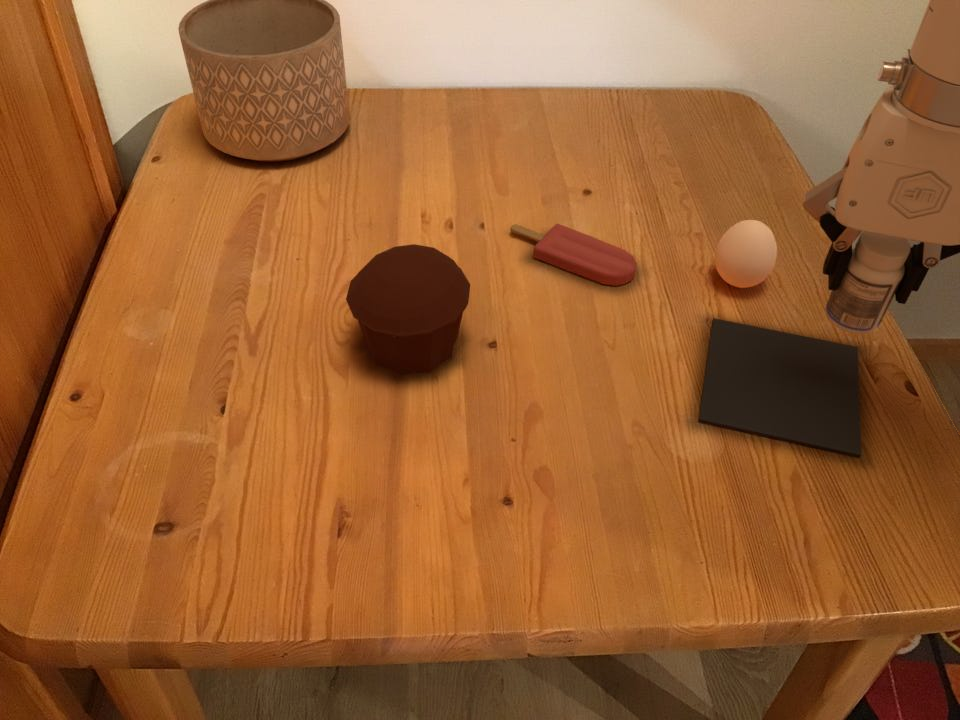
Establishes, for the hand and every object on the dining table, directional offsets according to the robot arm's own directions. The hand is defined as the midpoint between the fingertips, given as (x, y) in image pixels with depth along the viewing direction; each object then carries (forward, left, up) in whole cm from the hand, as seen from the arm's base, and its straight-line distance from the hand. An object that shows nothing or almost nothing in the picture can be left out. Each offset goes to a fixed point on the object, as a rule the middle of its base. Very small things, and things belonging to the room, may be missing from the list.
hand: (866, 285), depth 72 cm
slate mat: (+4, +2, -12) cm, 12 cm away
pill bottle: (0, 0, -4) cm, 4 cm away
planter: (+68, -25, -12) cm, 74 cm away
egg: (+9, -12, -12) cm, 19 cm away
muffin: (+39, +7, -12) cm, 41 cm away
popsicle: (+27, -11, -12) cm, 31 cm away
